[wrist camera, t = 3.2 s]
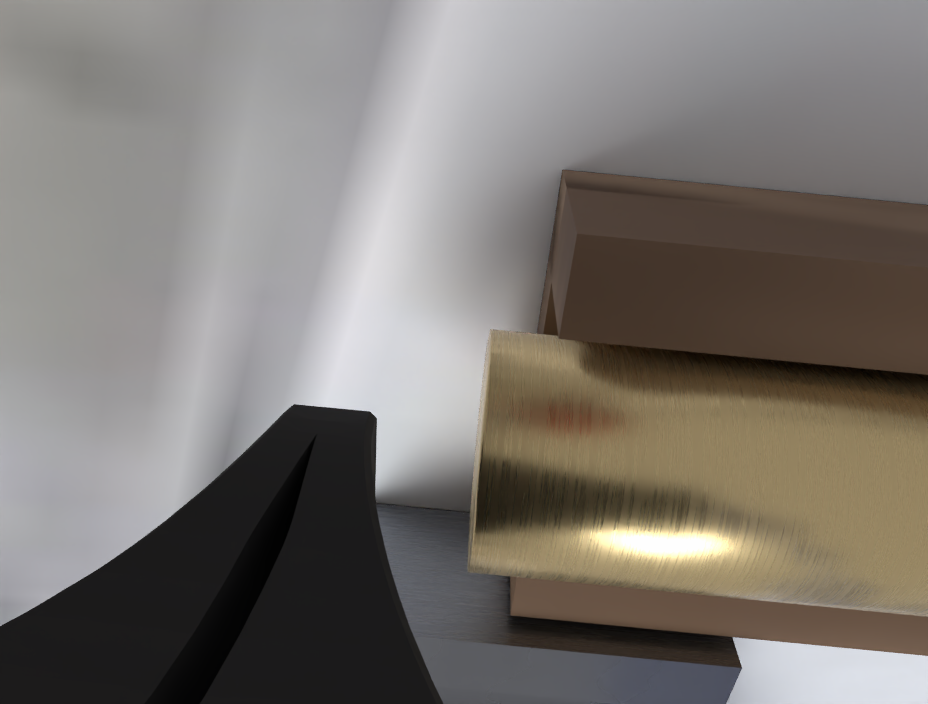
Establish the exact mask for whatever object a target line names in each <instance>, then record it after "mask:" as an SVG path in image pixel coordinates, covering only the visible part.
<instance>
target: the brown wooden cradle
mask: <svg viewBox="0 0 928 704" xmlns="http://www.w3.org/2000/svg"><path fill="white" fill-rule="evenodd" d="M537 334H545V335H555V336H558V338H559V339H564V340H574V341H584V342H595V343H605V344H615V345H626V346H636V347H646V348H657V349H667V350H677V351H688V352H698V353H709V354H719V355H729V356H740V357H750V358H760V359H771V360H781V361H791V362H802V363H812V364H822V365H833V366H843V367H853V368H864V369H874V370H884V371H895V372H905V373H915V374H926V375H928V205H921V204H910V203H900V202H890V201H879V200H869V199H859V198H848V197H838V196H828V195H817V194H807V193H797V192H786V191H776V190H766V189H755V188H745V187H735V186H724V185H714V184H704V183H694V182H683V181H673V180H663V179H652V178H642V177H632V176H621V175H611V174H601V173H590V172H580V171H570V170H562V176H561V182H560V189H559V195H558V201H557V208H556V214H555V221H554V227H553V233H552V240H551V246H550V253H549V259H548V266H547V272H546V278H545V285H544V291H543V298H542V304H541V310H540V317H539V323H538V330H537ZM510 615H511V616H521V617H532V618H542V619H552V620H563V621H573V622H583V623H594V624H604V625H614V626H625V627H635V628H645V629H656V630H666V631H677V632H687V633H697V634H708V635H718V636H728V637H739V638H749V639H759V640H770V641H780V642H790V643H801V644H811V645H821V646H832V647H842V648H852V649H863V650H873V651H884V652H894V653H904V654H915V655H925V656H928V617H925V616H914V615H904V614H894V613H883V612H873V611H863V610H852V609H842V608H832V607H821V606H811V605H801V604H790V603H780V602H770V601H759V600H749V599H739V598H728V597H718V596H708V595H697V594H687V593H677V592H666V591H656V590H646V589H635V588H625V587H615V586H604V585H594V584H584V583H573V582H563V581H553V580H542V579H532V578H522V577H511V576H510Z"/></svg>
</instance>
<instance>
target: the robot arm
mask: <svg viewBox="0 0 928 704" xmlns="http://www.w3.org/2000/svg"><path fill="white" fill-rule="evenodd" d="M376 429H377V418H376V417H375V416H374V415H373V414H372V413H371V412H368V411H358V410H347V409H337V408H326V407H316V406H305V405H295V404H294V405H293V406H291V407H290V408H289V409H288V410H286V411H285V412H284V413H283V414H282V415H281V416H280V417H279V418H278V419H277V420H276V421H275V423H274V424H273V425H272V426H271V427H270V428H269V429H268V430H267V431H266V432H265V433H264V434H263V435H262V436H261V437H260V438H258V439H257V440H256V441H255V442H254V443H253V444H252V445H251V446H250V447H249V448H248V449H247V450H246V451H245V452H244V453H243V454H242V455H241V456H240V457H239V458H238V459H237V460H236V461H234V462H233V463H232V464H231V465H230V466H229V467H228V468H227V469H226V470H225V471H223V472H222V473H221V474H220V475H219V476H218V477H217V478H216V479H215V480H214V481H213V482H211V483H210V484H209V485H208V486H207V487H206V488H205V489H203V490H202V491H201V492H200V493H199V494H197V495H196V496H195V497H194V498H193V499H191V500H190V501H189V502H188V503H187V504H185V505H184V506H183V507H182V508H180V509H179V510H178V511H177V512H176V513H174V514H173V515H172V516H171V517H170V518H168V519H167V520H166V521H165V522H163V523H162V524H161V525H159V526H158V527H157V528H156V529H154V530H153V531H152V532H150V533H149V534H148V535H146V536H145V537H144V538H142V539H141V540H139V541H138V542H137V543H135V544H134V545H133V546H131V547H130V548H128V549H127V550H125V551H124V552H123V553H121V554H120V555H118V556H117V557H115V558H114V559H113V560H111V561H110V562H108V563H107V564H105V565H104V566H102V567H101V568H99V569H98V570H96V571H94V572H93V573H91V574H90V575H88V576H86V577H85V578H83V579H81V580H80V581H78V582H76V583H75V584H73V585H71V586H70V587H68V588H66V589H65V590H63V591H61V592H60V593H58V594H56V595H55V596H53V597H51V598H50V599H48V600H46V601H45V602H43V603H41V604H40V605H38V606H36V607H35V608H33V609H31V610H29V611H28V612H26V613H24V614H22V615H20V616H19V617H17V618H15V619H13V620H11V621H9V622H7V623H5V624H4V625H2V626H0V704H443V702H442V699H441V697H440V695H439V693H438V691H437V689H436V687H435V685H434V683H433V681H432V679H431V676H430V674H429V671H428V669H427V667H426V664H425V662H424V659H423V657H422V655H421V652H420V650H419V648H418V645H417V643H416V640H415V638H414V636H413V633H412V631H411V628H410V626H409V623H408V620H407V617H406V615H405V612H404V609H403V606H402V603H401V600H400V597H399V594H398V591H397V588H396V585H395V582H394V578H393V575H392V572H391V568H390V565H389V561H388V557H387V553H386V549H385V545H384V541H383V536H382V532H381V528H380V523H379V518H378V512H377V507H376V500H375V474H376Z"/></svg>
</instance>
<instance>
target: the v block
mask: <svg viewBox="0 0 928 704" xmlns="http://www.w3.org/2000/svg"><path fill="white" fill-rule="evenodd" d="M376 507H377V512H378V518H379V523H380V528H381V532H382V536H383V541H384V545H385V549H386V553H387V557H388V561H389V565H390V568H391V572H392V575H393V578H394V582H395V585H396V588H397V591H398V594H399V597H400V600H401V603H402V606H403V609H404V612H405V615H406V617H407V620H408V623H409V626H410V628H411V631H412V633H413V636H414V638H415V640H416V643H417V645H418V648H419V650H420V652H421V655H422V657H423V659H424V662H425V664H426V667H427V669H428V671H429V674H430V676H431V679H432V681H433V683H434V685H435V687H436V689H437V691H438V693H439V695H440V697H441V699H442V702H443V704H726V702H727V700H728V698H729V696H730V693H731V691H732V689H733V687H734V685H735V682H736V680H737V678H738V676H739V673H740V671H741V669H742V667H741V664H740V660H739V657H738V654H737V651H736V648H735V645H734V642H733V638H732V637H728V636H718V635H708V634H697V633H687V632H677V631H666V630H656V629H645V628H635V627H625V626H614V625H604V624H594V623H583V622H573V621H563V620H552V619H542V618H532V617H521V616H511V615H510V576H501V575H491V574H480V573H470V572H468V539H469V523H470V513H467V512H457V511H446V510H436V509H426V508H415V507H405V506H394V505H384V504H376Z"/></svg>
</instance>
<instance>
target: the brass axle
mask: <svg viewBox="0 0 928 704" xmlns="http://www.w3.org/2000/svg"><path fill="white" fill-rule="evenodd" d="M468 572H470V573H480V574H491V575H501V576H511V577H522V578H532V579H542V580H553V581H563V582H573V583H584V584H594V585H604V586H615V587H625V588H635V589H646V590H656V591H666V592H677V593H687V594H697V595H708V596H718V597H728V598H739V599H749V600H759V601H770V602H780V603H790V604H801V605H811V606H821V607H832V608H842V609H852V610H863V611H873V612H883V613H894V614H904V615H914V616H925V617H928V375H926V374H915V373H905V372H895V371H884V370H874V369H864V368H853V367H843V366H833V365H822V364H812V363H802V362H791V361H781V360H771V359H760V358H750V357H740V356H729V355H719V354H709V353H698V352H688V351H677V350H667V349H657V348H646V347H636V346H626V345H615V344H605V343H595V342H584V341H574V340H564V339H559V338H558V336H555V335H545V334H534V333H524V332H514V331H503V330H493V329H490V332H489V337H488V343H487V350H486V357H485V364H484V373H483V381H482V390H481V399H480V408H479V418H478V428H477V438H476V449H475V460H474V471H473V483H472V495H471V508H470V523H469V539H468Z"/></svg>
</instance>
